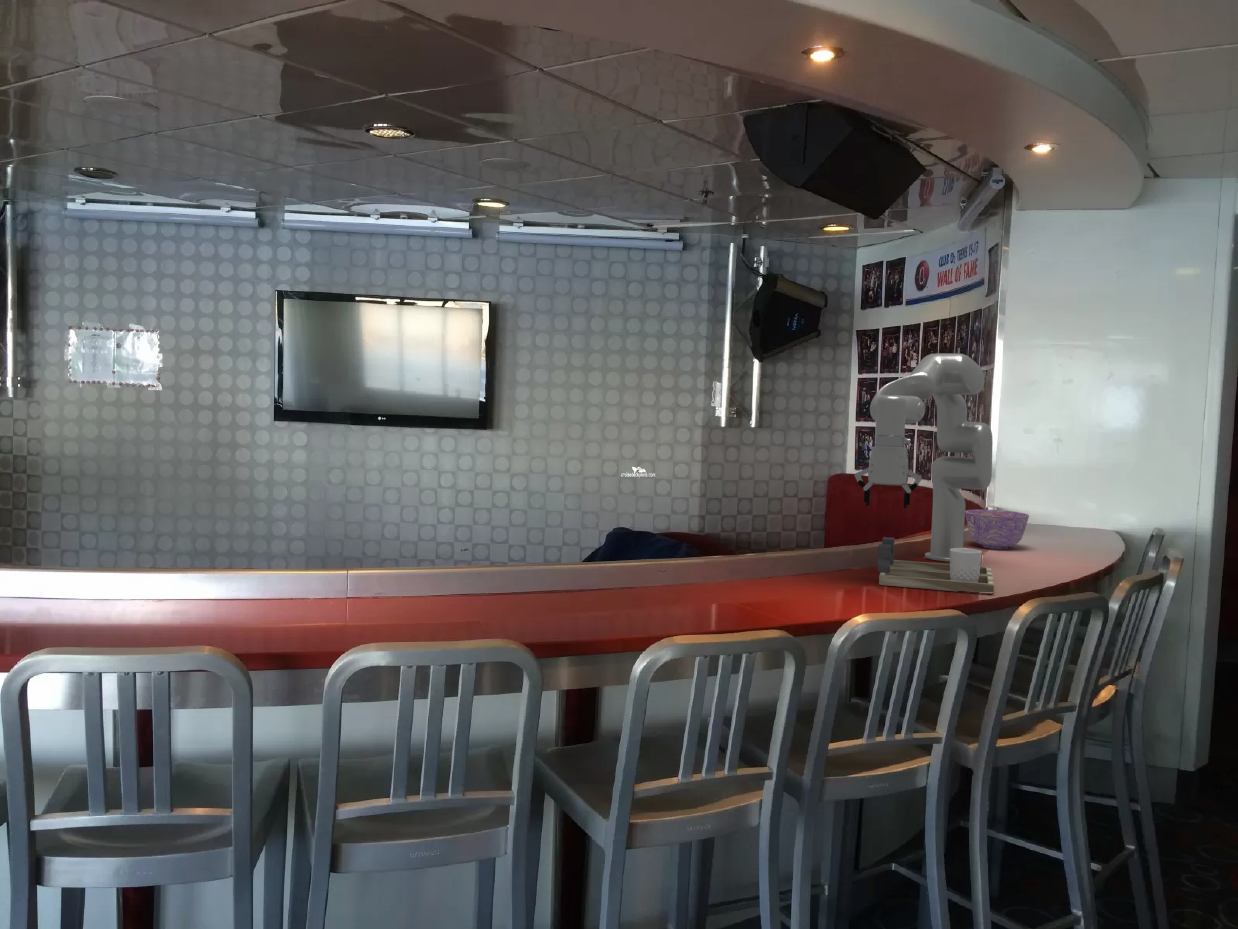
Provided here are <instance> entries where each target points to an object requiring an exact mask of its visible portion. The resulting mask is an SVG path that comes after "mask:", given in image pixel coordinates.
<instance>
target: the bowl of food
mask: <svg viewBox="0 0 1238 929" xmlns="http://www.w3.org/2000/svg"><path fill="white" fill-rule="evenodd" d="M1029 517H1030V515H1029V514H1028V513H1024V512H1019V511H1009V510H1002V509H1001V510H1000V509H999V510H998V509H968V510H967V509H966V510H965V518H966V519H965V520H966V523H967V529H968V532H969V535H970V538H972V540H973V541H974V542H976V544H979V545H981V547H982V548H985V549H991V550H1007V549H1009V547H1012V546H1015V545H1017V544H1019V543H1020V541H1022V539H1023V536H1024V534H1025V531H1026V527H1027V523H1028V521H1029Z"/></svg>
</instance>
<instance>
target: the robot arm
mask: <svg viewBox="0 0 1238 929" xmlns="http://www.w3.org/2000/svg"><path fill="white" fill-rule="evenodd" d="M985 381H986V380H985V374H984V371H983V369H982V368H981V366H980V365H979V364H978V363H977V362H975V360H973V358H971V357H970V356H968V355H966V354H963V353H958V352H957V353H945V352H943V353H931V354H928V355H926V356H924V357H923V358H922V359H921V360H920V361H919V363H918V364H917V365H916V366H915V367H914V369H913V370H912V371H911V373H910V374H909V375H905V376H903V377H900V378H897V379H895V380H893V381H890V382H888V383H887V384H884V385H883V386H882V387H880V389H879V390H878V391H877V392H876V393H875V395H874V396H873V398H872V400H871V402H870V406H869V414H870V417H871V418H872V420H873V421H875V435H874V446H872V447H871V450H870V454H869V462H868V467H867V468H864V469H863V470H860V471H857V472H855V473H854V477H855V478H854V479H855V480H856V482H857V484H858V485H859V486H860V488H861V489H863V491H864V492H863V493H864V494H863V503H866V504H865V506H866V507H869V506H870V505H871V490H870V488H871V487H872V486H873V485H880V486H881V485H882V486H884V485H885V486H901V487H902V488H903V489H904V490H905V492H904V493H903V494H904V495H903V508H904V509H907V508H908V506H910V504H911V493H912V492H913V491H914V490H916V488H918V486H919V485H920V483H921V481H922V479H923V477H922V476H921V475H919V474H917V473H916V472H914V471H912V470H910V469H909V453H908V448H906V447H905V446H906V445H909V444H911V438H907V437H905V434H906V432H905V430H906V424H909V425H911V424H917V423H919V422H920V421H921V420H922V419H923V418H924V416H925V413H926V405H925V403H924V401H925V400H928V399H930V398H931V397H933V399H934V402H935V405H936V414H937V415H936V418H937V419H936V442H937V443H936V444H937V446H938V448H939V450H941V451H943V452H946V453H947V452H948V453H957V454H959V453H960V454H971V455H972V456H973V457H963V456H953V455H952V456H950V455H949V456H948V455H946V456H945V455H943V456H940V457H938V458H935V460H933V461H932V463H931V468H930V474H931V475H930V476H931V481H932V482H931V483H932V516H931V533H930V534H931V536H930V551H928V552H925V553H924V558H925V559H929V560H933V561H939V562H948V563H950V549H952V548H964V542H965V541H964V539H965V522H966V519H965V518H966V514H965V511H966V500H965V498H964V496H963V495H962V493H961V491H960V490H959V489H964V490H976V491H977V490H979V491H980V490H986V489H987V488H988V487H989V486H990V484H991V481H992V474H993V432H992V429H991V428H990V427H991V426H990V425H988V424H987V423H985V422H982V421H968V419H967V418H968V417H967V415H968V414H967V413H968V412H967V409H968V408H967V403H966V401H965V399H964V397H963V396H962V395H965V396H967V395H969V396H971V395H972V396H973V395H977V394H979V393H981V391H982V390H983V388H984V386H985ZM866 474H867V481H868V482H867V483H865V482H864V481H863V479H862V476H864V475H866ZM909 476H910V477H911V478H913V479H914V482H913V483H912V484H911V485H910V486H909V484H908V481H909Z"/></svg>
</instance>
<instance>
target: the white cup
mask: <svg viewBox="0 0 1238 929" xmlns="http://www.w3.org/2000/svg"><path fill="white" fill-rule="evenodd" d="M982 554H983V551H982V550H979V549H975V548H968V547H967V548H966V547H963V548H952V549H950V562H949V564H950V579H951V581H963V582H975V583H978V579H979V574H980V567H982V566H981V563H982Z"/></svg>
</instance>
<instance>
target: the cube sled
mask: <svg viewBox="0 0 1238 929" xmlns="http://www.w3.org/2000/svg"><path fill="white" fill-rule="evenodd" d="M881 542H882V543H881V544H886V545H891V559H890V568H899V569H911V570H924V571H937V572H949V573H950V571H949V564H950V563H937V562H926V561H925V562H924V561H912V560H911V561H910V560H898V559H897V560H896V559H894V558H895V557H894V556H895V537H886V536H883V537H882V540H881ZM979 575H987V576H992V577H993V572H992V567H989V566H980V574H979Z"/></svg>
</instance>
